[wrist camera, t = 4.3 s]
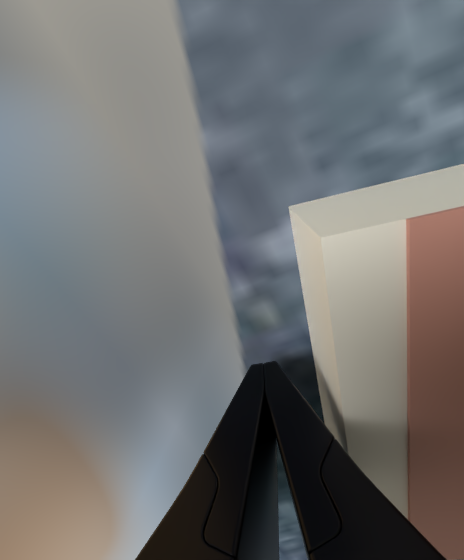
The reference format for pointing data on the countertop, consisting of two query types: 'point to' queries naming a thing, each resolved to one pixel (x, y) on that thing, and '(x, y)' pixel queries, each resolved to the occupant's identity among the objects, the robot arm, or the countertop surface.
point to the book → (393, 338)
